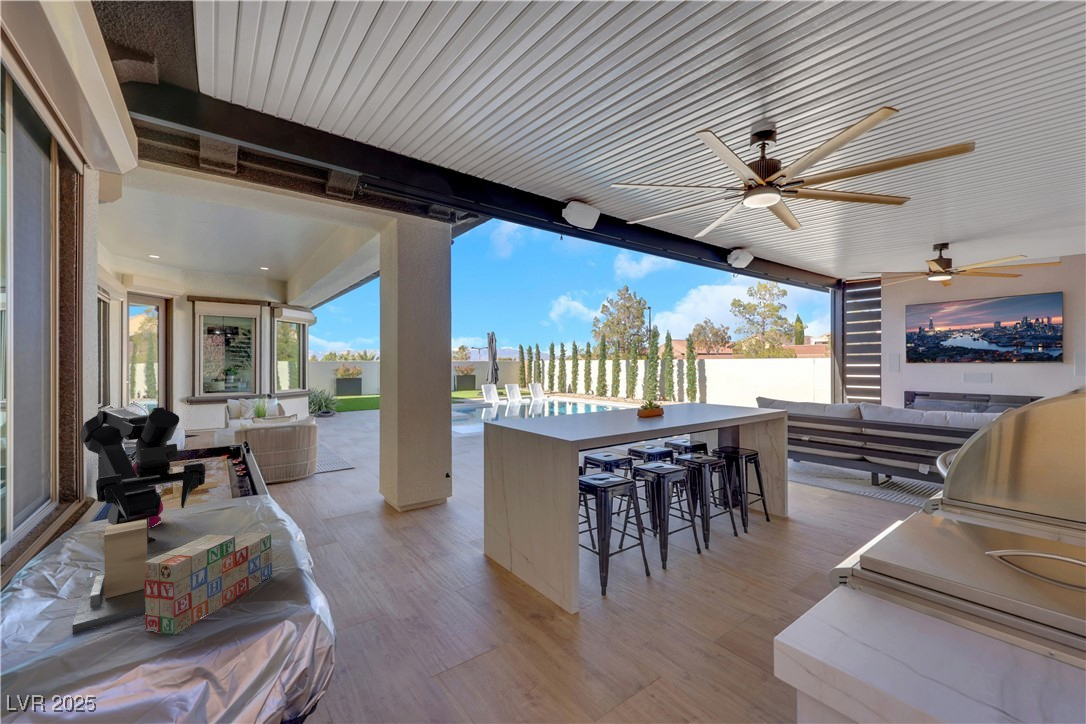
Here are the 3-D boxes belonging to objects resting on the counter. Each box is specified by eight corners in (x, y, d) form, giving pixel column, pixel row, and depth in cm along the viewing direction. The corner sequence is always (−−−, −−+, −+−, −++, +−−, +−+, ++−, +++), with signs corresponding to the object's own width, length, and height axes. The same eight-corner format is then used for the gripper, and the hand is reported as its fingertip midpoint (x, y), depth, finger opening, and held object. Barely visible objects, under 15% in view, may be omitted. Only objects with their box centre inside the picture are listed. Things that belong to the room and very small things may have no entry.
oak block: (107, 586, 91) (106, 526, 90) (147, 577, 94) (146, 519, 94) (104, 598, 86) (104, 535, 86) (147, 588, 90) (146, 527, 90)
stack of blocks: (248, 574, 99) (247, 517, 99) (272, 576, 98) (272, 519, 98) (144, 632, 78) (143, 560, 78) (174, 636, 77) (173, 563, 77)
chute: (87, 584, 94) (87, 568, 94) (169, 566, 103) (168, 550, 103) (72, 633, 78) (72, 613, 78) (171, 606, 86) (170, 588, 86)
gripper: (94, 440, 98) (93, 500, 89) (202, 428, 110) (210, 480, 102) (98, 472, 104) (97, 532, 95) (200, 458, 116) (207, 509, 108)
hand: (155, 512), depth 100 cm, fingers open, 9 cm apart
